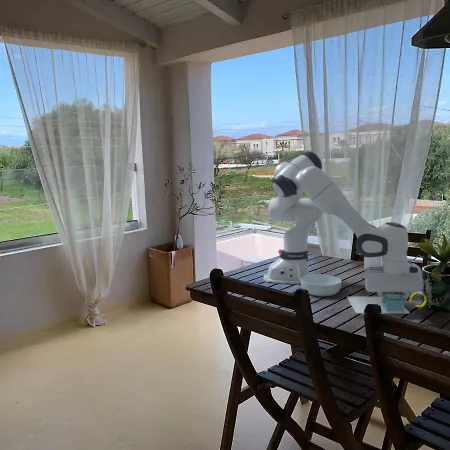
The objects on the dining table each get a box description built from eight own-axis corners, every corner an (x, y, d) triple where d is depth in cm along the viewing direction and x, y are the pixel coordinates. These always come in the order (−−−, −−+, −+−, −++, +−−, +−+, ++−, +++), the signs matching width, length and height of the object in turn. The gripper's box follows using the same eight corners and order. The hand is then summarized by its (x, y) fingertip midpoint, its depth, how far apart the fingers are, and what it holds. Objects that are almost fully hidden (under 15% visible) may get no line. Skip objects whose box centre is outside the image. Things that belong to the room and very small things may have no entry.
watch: (423, 306, 169) (425, 291, 168) (426, 308, 166) (428, 293, 165) (408, 305, 169) (409, 290, 168) (410, 307, 166) (412, 292, 165)
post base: (356, 316, 158) (356, 303, 158) (346, 300, 177) (346, 288, 176) (410, 317, 157) (410, 303, 156) (394, 300, 175) (395, 288, 174)
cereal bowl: (315, 304, 174) (315, 286, 172) (293, 292, 189) (293, 277, 188) (349, 297, 180) (350, 281, 179) (325, 287, 195) (325, 272, 194)
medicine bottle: (381, 267, 227) (382, 244, 225) (378, 270, 221) (378, 247, 219) (367, 265, 230) (368, 243, 229) (363, 268, 225) (364, 246, 223)
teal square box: (403, 310, 159) (404, 299, 158) (386, 310, 160) (387, 298, 159) (398, 305, 165) (399, 293, 164) (382, 305, 165) (382, 293, 165)
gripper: (367, 268, 158) (366, 305, 160) (425, 268, 156) (424, 305, 158) (363, 264, 164) (362, 299, 166) (419, 264, 162) (418, 300, 164)
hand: (393, 302), depth 162 cm, fingers closed on teal square box, 6 cm apart
